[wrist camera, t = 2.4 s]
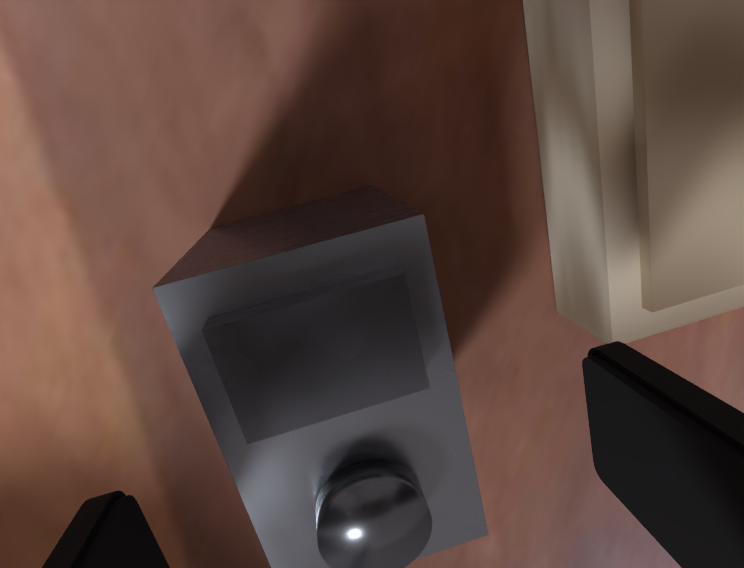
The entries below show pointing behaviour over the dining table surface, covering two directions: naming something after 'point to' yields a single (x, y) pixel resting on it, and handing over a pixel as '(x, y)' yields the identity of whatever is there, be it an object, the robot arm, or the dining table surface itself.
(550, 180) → the stand
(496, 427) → the dining table surface
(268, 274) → the housing
